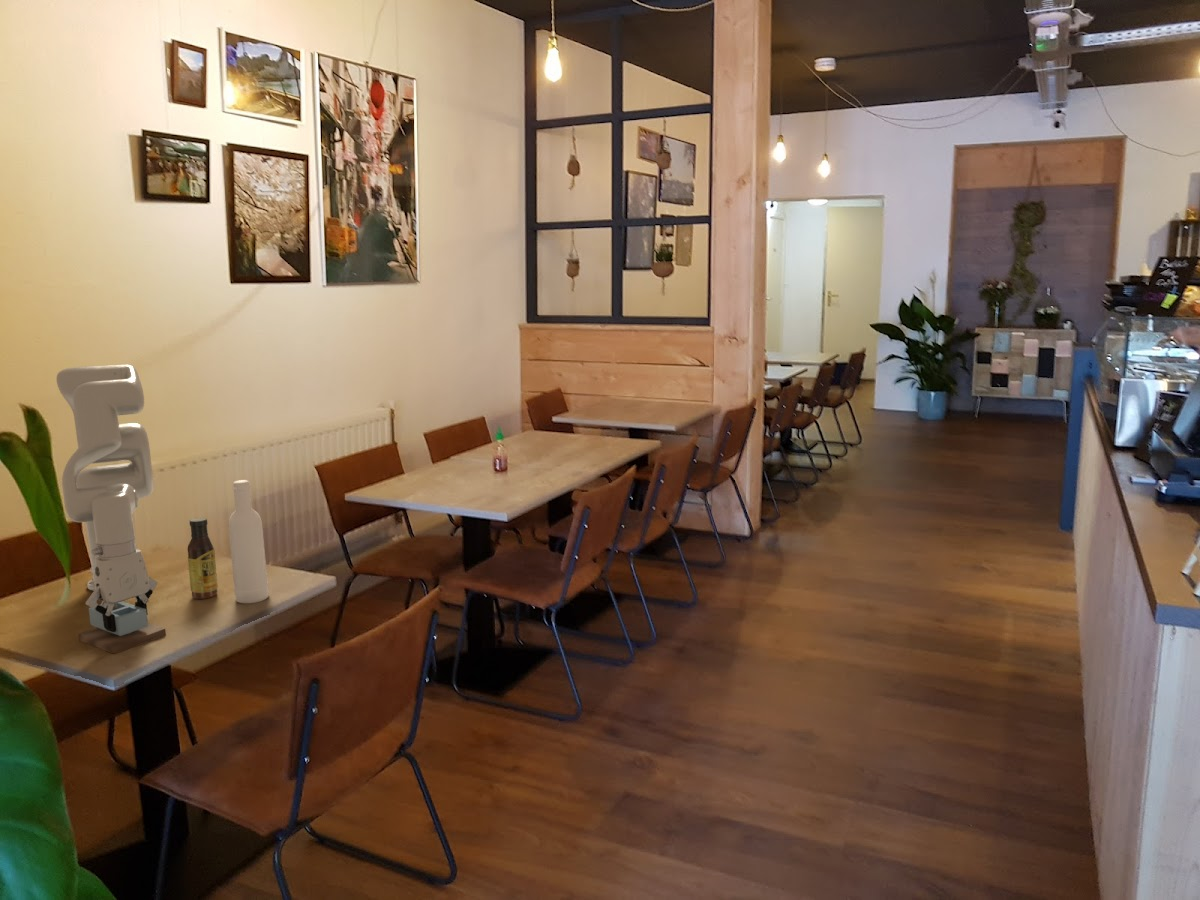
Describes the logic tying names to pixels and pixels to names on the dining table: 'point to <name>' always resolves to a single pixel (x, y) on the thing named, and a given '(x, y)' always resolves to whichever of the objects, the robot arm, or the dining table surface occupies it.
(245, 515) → the bottle
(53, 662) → the dining table surface
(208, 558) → the sauce bottle
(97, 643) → the post block
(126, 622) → the hollow blue brick
